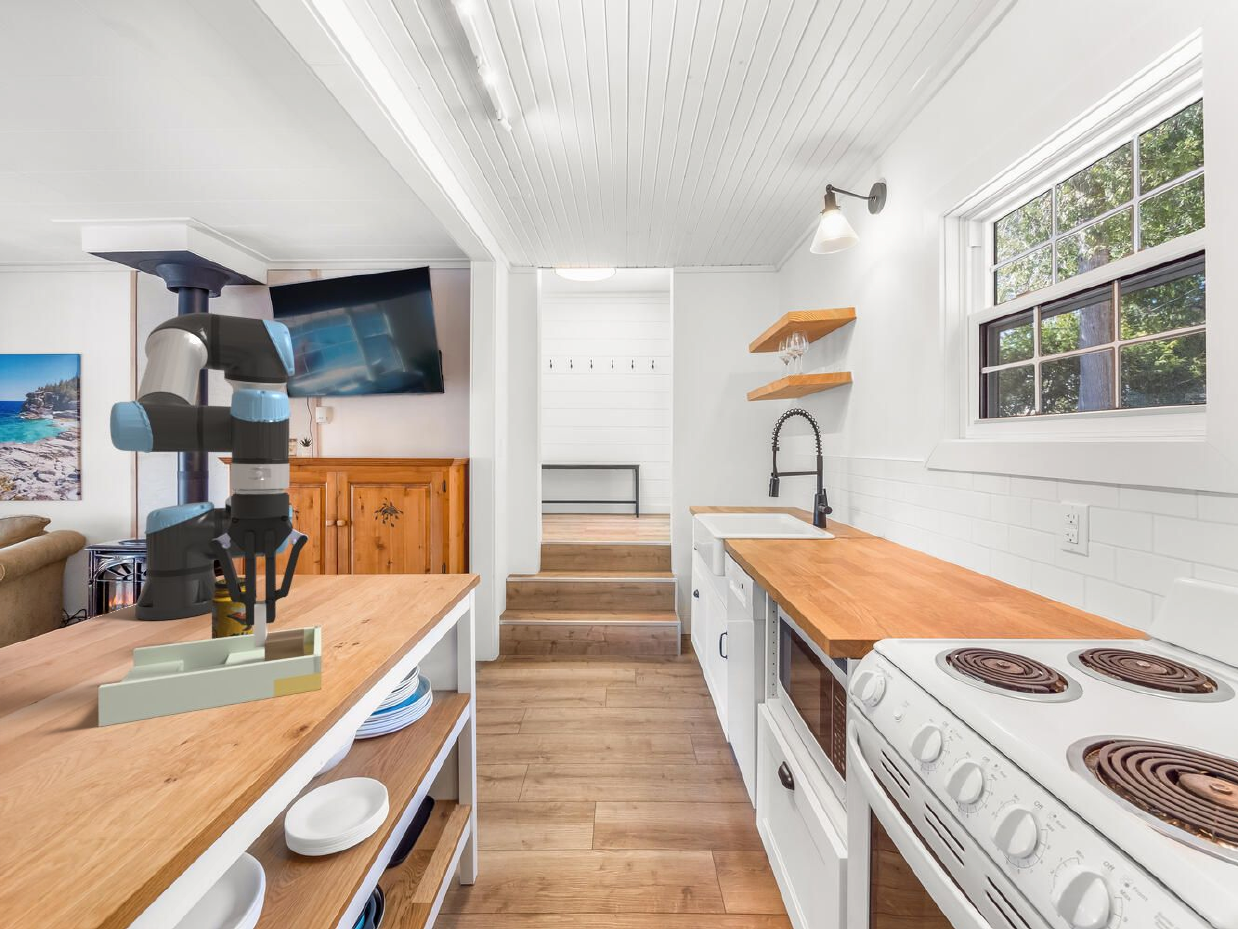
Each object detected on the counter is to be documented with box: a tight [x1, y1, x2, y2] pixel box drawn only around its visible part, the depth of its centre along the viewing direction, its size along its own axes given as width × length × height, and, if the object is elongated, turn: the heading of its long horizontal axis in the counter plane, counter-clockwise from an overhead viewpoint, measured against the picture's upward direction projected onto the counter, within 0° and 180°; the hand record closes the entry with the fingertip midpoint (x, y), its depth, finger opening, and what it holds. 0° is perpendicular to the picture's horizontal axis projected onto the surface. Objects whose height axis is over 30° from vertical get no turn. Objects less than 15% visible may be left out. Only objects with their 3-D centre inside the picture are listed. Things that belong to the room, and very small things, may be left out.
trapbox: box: [97, 625, 322, 728], centre depth 84 cm, size 16×25×5 cm, turn 118°
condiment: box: [211, 576, 254, 639], centre depth 100 cm, size 7×8×12 cm
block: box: [265, 628, 304, 662], centre depth 87 cm, size 5×5×4 cm
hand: (260, 644), depth 86 cm, fingers closed
